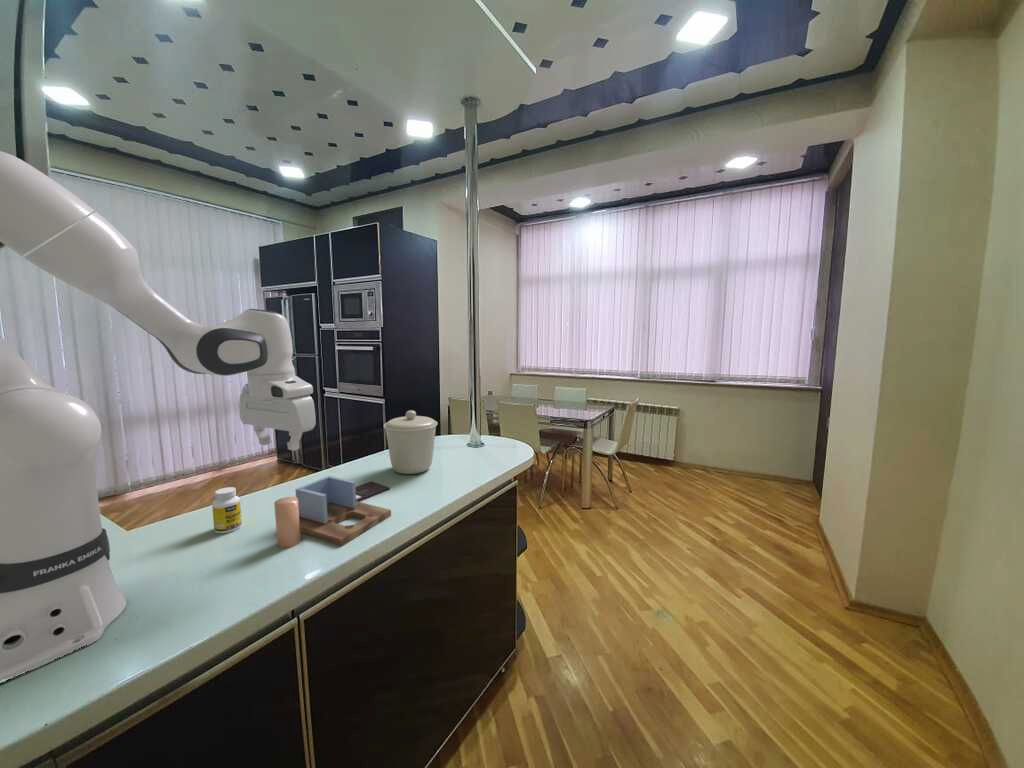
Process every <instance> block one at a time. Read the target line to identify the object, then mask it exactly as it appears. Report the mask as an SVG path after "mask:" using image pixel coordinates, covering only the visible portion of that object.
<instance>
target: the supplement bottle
mask: <svg viewBox="0 0 1024 768" xmlns="http://www.w3.org/2000/svg"><path fill="white" fill-rule="evenodd" d="M236 494H237V490H236V487H233V486H228V487H223V488H220V489H217V490H215V491H214V497H215V499H214V500H213V502H212V504H211V505H212V506H211V507H212V508H211V509H212V518H213V519H212V520H213V530H214V532H215V533H216V534H228V533H232V532H235V531H237V530H239V529H240V528H241V527H242V521H243V520H242V508H241V498H240V497H239V496H237V495H236Z"/></svg>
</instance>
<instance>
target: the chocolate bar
mask: <svg viewBox="0 0 1024 768" xmlns="http://www.w3.org/2000/svg"><path fill="white" fill-rule="evenodd" d="M355 487H356V501H358V502H362V501H365V500H367V499H370V498H372V497H375V496H377V495H381V494H382V493H385V492H387V491H389V490H391V488H390V487H389V486H385V485H383V484H382V483H381V484H380V483H378V482H375V481H368V482H366V483H363V484H360V485H358V486H355Z"/></svg>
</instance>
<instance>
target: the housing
mask: <svg viewBox="0 0 1024 768" xmlns="http://www.w3.org/2000/svg"><path fill="white" fill-rule="evenodd" d="M356 487H357V486H356V481H355V480H351V479H350V480H349V479H347V478H346V479H345V478H341V477H336V476H334V475H333V476H332V475H328V476H324V477H322V478H320V479H318V480H315V481H312V482H310V483H307V484H304V485H302V486H299V487H297V488H295V497H297V498H298V506H299V516H300V517H303V518H307V519H310V520H313V521H317V522H320V523H324V524H325V523H327V522H328V517H327V503H329V502H331V503H335V504H339V505H342V506H346V507H350V508H355V507H356Z"/></svg>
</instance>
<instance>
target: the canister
mask: <svg viewBox="0 0 1024 768" xmlns="http://www.w3.org/2000/svg"><path fill="white" fill-rule="evenodd" d="M437 426H438V421H436V420H435V419H433V418H432V417H429V416H424V415H423V416H422V415H417V412H416V411H415V410H413V409H412V410H411V409H409V410H407V411H406V412H405V416H399V417H394V418H392V419H390V420H389V421H387V422H385V423H384V424H383V428H384V429H385V433H386V440H387V447H388V452H389V458H390V463H391V468H392V469H393V470H394V471H395V472H396V473H398V474H402V475H414V474H415V475H416V474H420V473H424V472H426V471H428V470H429V469H430V467H431V466H432V462H433V456H434V449H435V448H434V447H435V440H436V429H437Z"/></svg>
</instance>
